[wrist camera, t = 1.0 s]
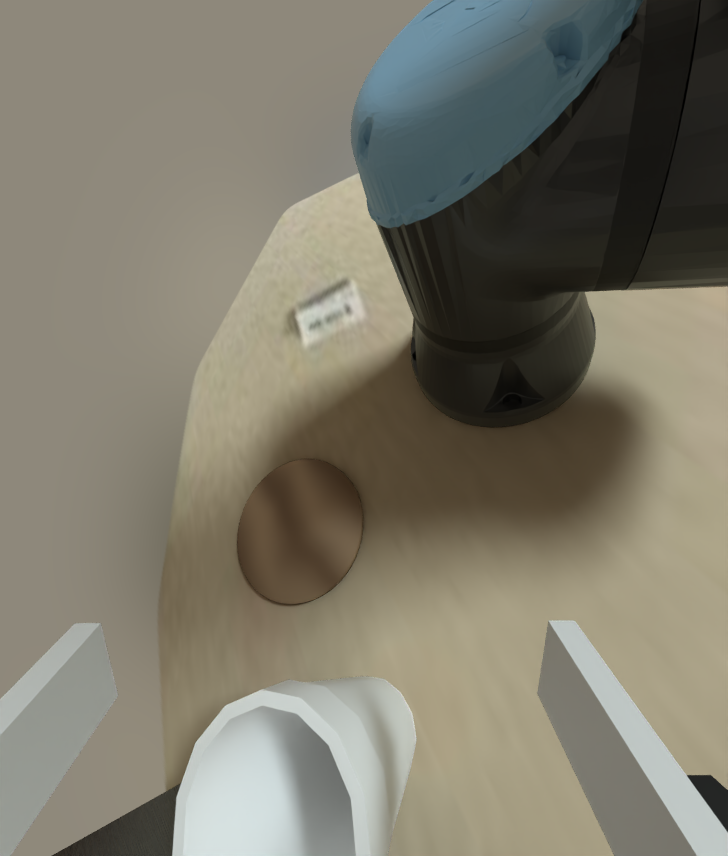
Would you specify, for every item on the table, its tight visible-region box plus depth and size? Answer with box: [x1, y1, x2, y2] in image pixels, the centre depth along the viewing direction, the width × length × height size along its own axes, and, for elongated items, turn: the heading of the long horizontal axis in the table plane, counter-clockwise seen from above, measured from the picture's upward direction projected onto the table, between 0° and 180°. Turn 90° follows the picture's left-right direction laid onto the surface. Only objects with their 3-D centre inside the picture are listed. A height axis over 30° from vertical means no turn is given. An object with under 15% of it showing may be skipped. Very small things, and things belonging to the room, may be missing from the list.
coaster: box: [237, 459, 363, 604], centre depth 34 cm, size 13×13×1 cm
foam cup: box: [172, 676, 417, 856], centre depth 20 cm, size 10×9×13 cm
